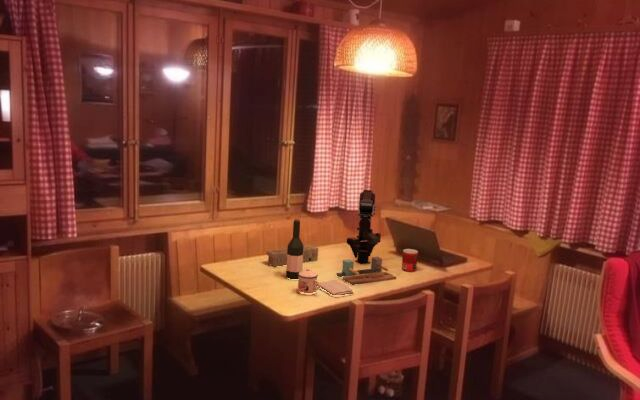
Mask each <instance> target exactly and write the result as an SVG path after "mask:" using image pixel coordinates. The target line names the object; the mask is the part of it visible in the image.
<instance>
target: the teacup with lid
mask: <svg viewBox="0 0 640 400" xmlns="http://www.w3.org/2000/svg"><path fill="white" fill-rule="evenodd" d="M298 275H299V280H297V281H298V283H297V292H298V291H300V292H304V293H313V292H316V293H317V291H318V290H320V289H319V288H320V282H321V281H319V280H318V277H319V276H318V273H317V272H316V271H313V270H311V268H310V267H307V268H305V270H302V271H301V272H299V274H298ZM317 284H318V287H317Z"/></svg>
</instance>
